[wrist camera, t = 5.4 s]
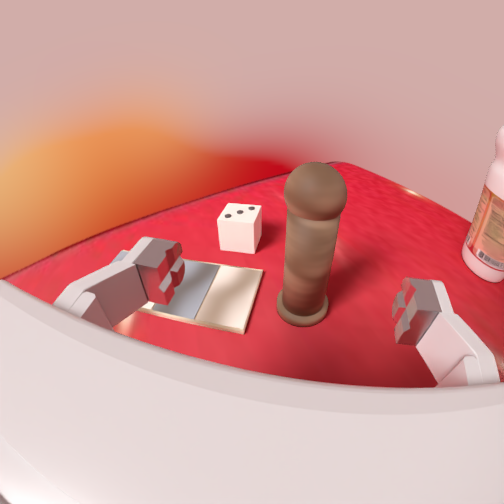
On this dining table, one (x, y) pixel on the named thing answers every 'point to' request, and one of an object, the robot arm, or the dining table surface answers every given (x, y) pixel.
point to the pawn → (310, 241)
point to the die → (240, 228)
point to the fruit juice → (489, 223)
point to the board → (210, 296)
